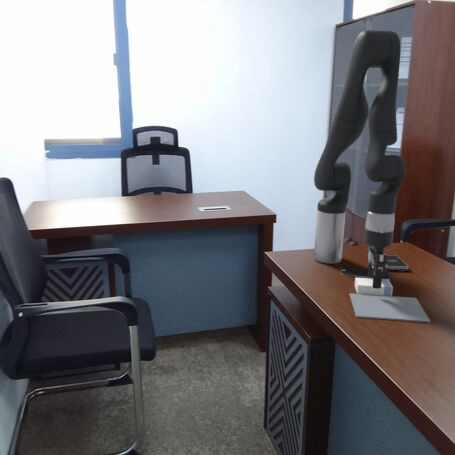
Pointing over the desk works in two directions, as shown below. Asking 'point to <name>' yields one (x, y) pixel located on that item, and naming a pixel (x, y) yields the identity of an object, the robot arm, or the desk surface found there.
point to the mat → (388, 308)
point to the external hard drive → (395, 264)
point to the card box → (366, 287)
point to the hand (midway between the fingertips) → (374, 282)
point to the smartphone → (360, 272)
